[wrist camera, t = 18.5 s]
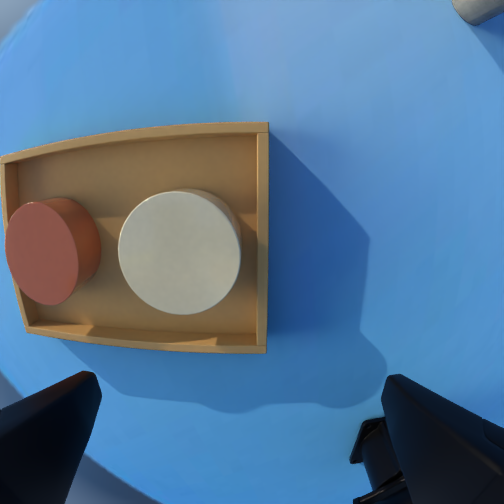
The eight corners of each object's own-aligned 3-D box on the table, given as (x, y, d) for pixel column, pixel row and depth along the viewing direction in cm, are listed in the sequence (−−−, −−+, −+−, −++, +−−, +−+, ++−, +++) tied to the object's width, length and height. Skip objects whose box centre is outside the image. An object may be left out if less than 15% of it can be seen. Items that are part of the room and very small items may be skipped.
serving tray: (265, 336, 20) (266, 353, 18) (39, 321, 20) (26, 332, 18) (267, 127, 17) (268, 121, 14) (17, 156, 17) (-1, 156, 15)
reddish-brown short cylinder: (107, 290, 18) (87, 309, 16) (38, 286, 18) (15, 301, 16) (97, 193, 17) (72, 197, 14) (26, 200, 17) (-1, 206, 14)
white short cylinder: (243, 294, 18) (241, 316, 16) (142, 292, 18) (125, 312, 16) (242, 186, 17) (240, 189, 14) (134, 190, 17) (113, 194, 14)
